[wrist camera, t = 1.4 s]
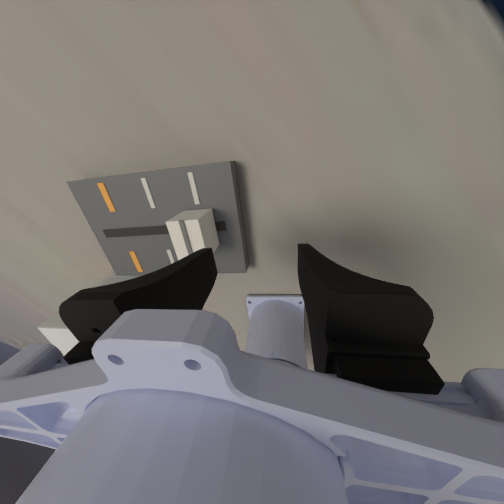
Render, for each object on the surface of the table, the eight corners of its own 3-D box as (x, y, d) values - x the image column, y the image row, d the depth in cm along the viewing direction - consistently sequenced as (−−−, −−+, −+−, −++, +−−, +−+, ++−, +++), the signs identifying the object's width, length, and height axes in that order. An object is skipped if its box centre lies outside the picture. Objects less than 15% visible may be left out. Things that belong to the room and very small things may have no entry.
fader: (219, 244, 20) (207, 262, 17) (194, 246, 21) (178, 263, 17) (211, 208, 18) (197, 219, 15) (184, 210, 19) (164, 221, 16)
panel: (248, 263, 24) (246, 273, 22) (127, 267, 27) (116, 275, 25) (234, 160, 18) (229, 161, 16) (84, 179, 21) (65, 181, 19)
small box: (117, 267, 27) (33, 326, 18) (151, 267, 26) (82, 328, 17) (137, 308, 31) (76, 374, 21) (168, 309, 30) (118, 378, 20)
